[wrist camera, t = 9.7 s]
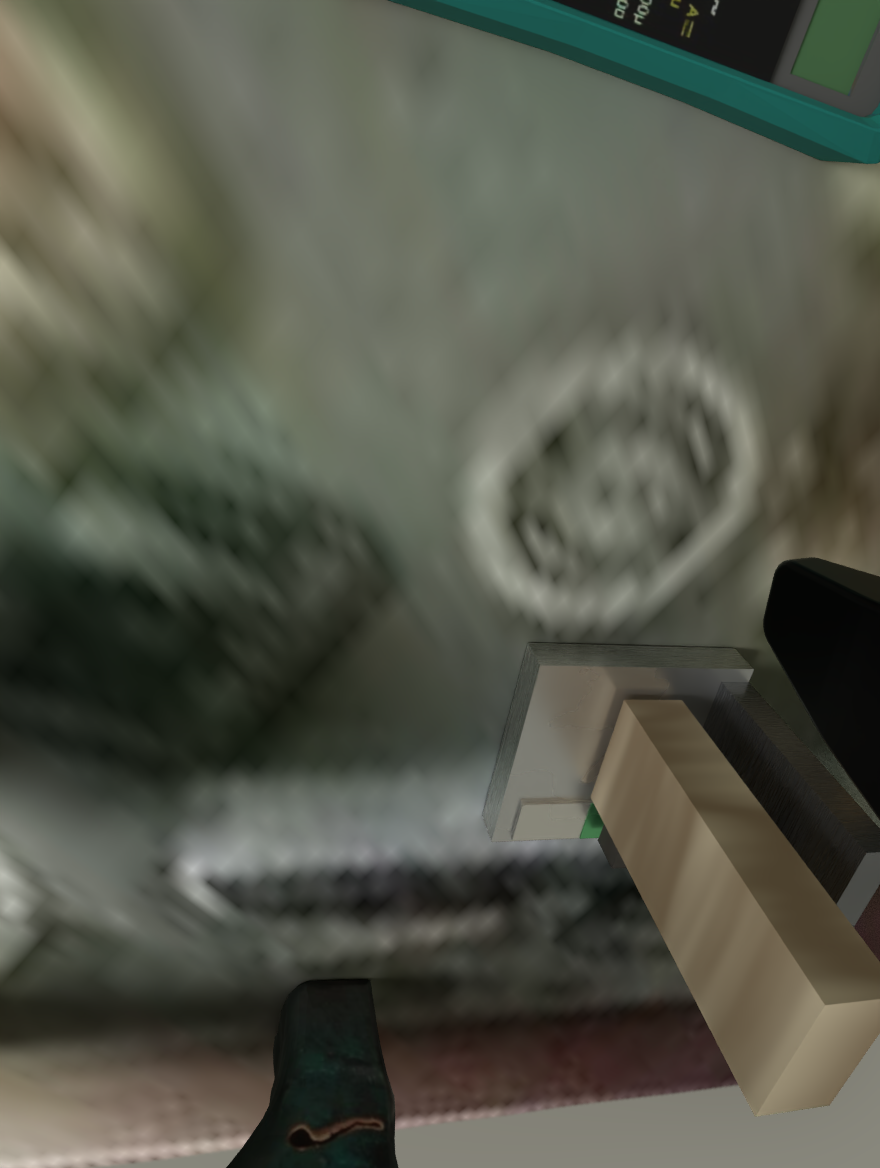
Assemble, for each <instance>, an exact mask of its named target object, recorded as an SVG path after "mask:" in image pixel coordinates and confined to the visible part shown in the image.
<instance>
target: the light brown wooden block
mask: <svg viewBox="0 0 880 1168" xmlns="http://www.w3.org/2000/svg"><path fill="white" fill-rule="evenodd" d="M591 799H592V801H593V803H594V805H595V807H596V809H597V811H598V813H599V815H600V817H601V819H602V821H603V823H604V825H603V828H602V831H601V833H600V836H599V839H598V842H599V844H600V846H601V848H602V850H603V852H604V854H605V856H606V858H607V860H608V862H609V864H610V866H611V868H627V869H628V871H629V873H630V875H631V877H632V879H633V881H634V883H635V885H636V887H637V889H638V890H639V892H640V894H641V896H642V898H643V900H644V902H645V904H646V906H647V908H648V910H649V912H650V914H651V916H652V918H653V920H654V922H655V923H656V925H657V927H658V929H659V931H660V933H661V935H662V937H663V939H664V941H665V943H666V945H667V947H668V949H669V951H670V953H671V955H672V956H673V958H674V960H675V962H676V964H677V966H678V968H679V970H680V972H681V974H682V976H683V978H684V980H685V982H686V984H687V986H688V988H689V989H690V991H691V993H692V995H693V997H694V999H695V1001H696V1003H697V1005H698V1007H699V1009H700V1011H701V1013H702V1015H703V1017H704V1019H705V1021H706V1022H707V1024H708V1026H709V1028H710V1030H711V1032H712V1034H713V1036H714V1038H715V1040H716V1042H717V1044H718V1046H719V1048H720V1050H721V1052H722V1054H723V1055H724V1057H725V1059H726V1061H727V1063H728V1065H729V1067H730V1069H731V1071H732V1073H733V1075H734V1077H735V1079H736V1081H737V1083H738V1085H739V1087H740V1088H741V1090H742V1092H743V1094H744V1096H745V1098H746V1100H747V1102H748V1104H749V1106H750V1108H751V1110H752V1112H753V1114H754V1116H755V1117H757V1116H763V1115H770V1114H777V1113H783V1112H790V1111H796V1110H803V1109H809V1108H816V1107H822V1106H828V1105H830V1104H831V1102H832V1101H833V1099H834V1098H835V1097H836V1095H837V1094H838V1092H839V1091H840V1089H841V1088H842V1087H843V1085H844V1084H845V1082H846V1081H847V1079H848V1078H849V1076H850V1075H851V1074H852V1072H853V1070H854V1069H855V1068H856V1066H857V1065H858V1064H859V1062H860V1061H861V1059H862V1058H863V1056H864V1055H865V1053H866V1052H867V1051H868V1049H869V1048H870V1046H871V1045H872V1043H873V1042H874V1041H875V1039H876V1038H877V1036H878V1035H879V1033H880V962H879V961H878V959H877V958H876V957H875V955H874V954H873V953H872V951H871V950H870V949H869V947H868V946H867V945H866V943H865V942H864V941H863V939H862V938H861V937H860V935H859V934H858V933H857V931H856V930H855V929H854V927H853V926H852V925H851V923H850V922H849V921H848V920H847V918H846V917H845V916H844V914H843V913H842V912H841V910H840V909H839V908H838V906H837V905H836V904H835V902H834V901H833V900H832V898H831V897H830V896H829V894H828V893H827V892H826V890H825V889H824V888H823V886H822V885H821V884H820V882H819V881H818V880H817V878H816V877H815V876H814V874H813V873H812V872H811V870H810V869H809V868H808V867H807V865H806V864H805V863H804V861H803V860H802V859H801V857H800V856H799V855H798V853H797V852H796V851H795V849H794V848H793V847H792V845H791V844H790V843H789V841H788V840H787V839H786V837H785V836H784V835H783V833H782V832H781V831H780V829H779V828H778V827H777V825H776V824H775V823H774V821H773V820H772V819H771V817H770V816H769V815H768V814H767V812H766V811H765V810H764V808H763V807H762V806H761V804H760V803H759V802H758V800H757V799H756V798H755V796H754V795H753V794H752V792H751V791H750V790H749V788H748V787H747V786H746V784H745V783H744V782H743V780H742V779H741V778H740V776H739V775H738V774H737V772H736V771H735V770H734V768H733V767H732V766H731V764H730V763H729V762H728V761H727V759H726V758H725V757H724V755H723V754H722V753H721V751H720V750H719V749H718V747H717V746H716V745H715V743H714V742H713V741H712V739H711V738H710V737H709V735H708V734H707V733H706V731H705V730H704V729H703V727H702V726H701V725H700V723H699V722H698V721H697V719H696V718H695V717H694V715H693V714H692V713H691V711H690V710H689V709H688V708H687V706H686V705H685V704H684V702H683V701H682V700H624V701H623V704H622V707H621V710H620V713H619V716H618V719H617V722H616V725H615V728H614V731H613V733H612V736H611V739H610V742H609V745H608V748H607V751H606V754H605V757H604V760H603V762H602V765H601V768H600V771H599V774H598V777H597V780H596V783H595V786H594V789H593V791H592V794H591Z"/></svg>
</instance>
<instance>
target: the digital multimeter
mask: <svg viewBox="0 0 880 1168" xmlns="http://www.w3.org/2000/svg"><path fill="white" fill-rule="evenodd" d="M389 1H392V2H395V3H399V4H402V5H405V6H408V7H411V8H414V9H417V10H421V11H424V12H427V13H430V14H433V15H436V16H439V17H443V18H446V19H449V20H452V21H455V22H458V23H461V24H464V25H468V26H471V27H474V28H477V29H480V30H483V31H486V32H489V33H493V34H496V35H499V36H502V37H505V38H508V39H511V40H515V41H518V42H521V43H524V44H527V45H530V46H533V47H536V48H540V49H543V50H546V51H549V52H552V53H554V54H557V55H560V56H562V57H565V58H568V59H570V60H573V61H576V62H578V63H581V64H584V65H586V66H589V67H592V68H594V69H597V70H600V71H602V72H605V73H608V74H610V75H613V76H616V77H618V78H621V79H624V80H626V81H629V82H632V83H634V84H637V85H640V86H642V87H645V88H648V89H650V90H653V91H656V92H658V93H661V94H664V95H666V96H669V97H672V98H674V99H677V100H680V101H682V102H685V103H687V104H689V105H692V106H694V107H696V108H699V109H701V110H703V111H706V112H708V113H711V114H713V115H715V116H718V117H720V118H722V119H725V120H727V121H729V122H732V123H734V124H736V125H739V126H741V127H743V128H746V129H748V130H750V131H753V132H755V133H758V134H760V135H762V136H765V137H767V138H769V139H772V140H774V141H776V142H779V143H781V144H783V145H786V146H788V147H790V148H793V149H795V150H798V151H800V152H802V153H805V154H807V155H809V156H812V157H814V158H816V159H819V160H824V161H837V162H851V163H864V164H877V163H879V162H880V0H554V1H553V0H389ZM669 44H670V45H669ZM698 55H699V56H698ZM719 63H720V64H719ZM727 66H728V67H727ZM735 69H736V70H735ZM740 71H741V72H740ZM748 74H749V75H748ZM756 77H757V78H756Z"/></svg>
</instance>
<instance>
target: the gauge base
mask: <svg viewBox="0 0 880 1168" xmlns="http://www.w3.org/2000/svg"><path fill="white" fill-rule="evenodd" d="M753 671H754V669H753V668H752V667H751V666H750V664H749V663H748V662H747V661H746V660H745V659H744V658H743V657H742V656H741V655H740V654H739V653H738V652H737V650H736V649H735V648H707V647H669V646H632V645H594V644H556V643H528V645H527V648H526V652H525V656H524V660H523V664H522V667H521V671H520V675H519V679H518V682H517V686H516V690H515V694H514V698H513V701H512V705H511V709H510V713H509V716H508V720H507V724H506V728H505V732H504V735H503V739H502V743H501V747H500V751H499V754H498V758H497V762H496V766H495V769H494V773H493V777H492V781H491V785H490V788H489V792H488V796H487V800H486V803H485V807H484V811H483V815H482V816H483V819H484V822H485V825H486V828H487V831H488V834H489V837H490V839H491V842H505V841H528V840H551V839H574V838H580V839H582V838H599V836H600V833H601V831H602V828H603V825H604V823H603V821H602V819H601V817H600V815H599V813H598V811H597V809H596V807H595V805H594V803H593V801H592V799H591V794H592V791H593V789H594V786H595V783H596V780H597V777H598V774H599V771H600V768H601V765H602V762H603V760H604V757H605V754H606V751H607V748H608V745H609V742H610V739H611V736H612V733H613V731H614V728H615V725H616V722H617V719H618V716H619V713H620V710H621V707H622V704H623V701H624V700H682V701H683V702H684V704H685V705H686V706H687V708H688V709H689V710H690V711H691V713H692V714H693V715H694V717H695V718H696V719H697V721H698V722H699V723H700V725H701V726H702V727H703V729H704V730H705V731H706V733H707V734H708V735H709V737H710V738H711V739H712V741H713V742H714V743H715V745H716V746H717V747H718V749H719V750H720V751H721V753H722V754H723V755H724V757H725V758H726V759H727V761H728V762H729V763H730V764H731V766H732V767H733V768H734V770H735V771H736V772H737V774H738V775H739V776H740V778H741V779H742V780H743V782H744V783H745V784H746V786H747V787H748V788H749V790H750V791H751V792H752V794H753V795H754V796H755V798H756V799H757V800H758V802H759V803H760V804H761V806H762V807H763V808H764V810H765V811H766V812H767V814H768V815H769V816H770V817H771V819H772V820H773V821H774V823H775V824H776V825H777V827H778V828H779V829H780V831H781V832H782V833H783V835H784V836H785V837H786V839H787V840H788V841H789V843H790V844H791V845H792V847H793V848H794V849H795V851H796V852H797V853H798V855H799V856H800V857H801V859H802V860H803V861H804V863H805V864H806V865H807V867H808V868H809V869H810V870H811V872H812V873H813V874H814V876H815V877H816V878H817V880H818V881H819V882H820V884H821V885H822V886H823V888H824V889H825V890H826V892H827V893H828V894H829V896H830V897H831V898H832V900H833V901H834V902H835V904H836V905H837V906H838V908H839V909H840V910H841V912H842V913H843V914H844V916H845V917H846V918H847V920H848V921H849V922H850V923H851V925H852V926H853V927H854V925H855V924H856V922H857V920H858V919H859V917H860V916H861V914H862V912H863V911H864V909H865V907H866V906H867V904H868V902H869V901H870V899H871V897H872V896H873V894H874V893H875V891H876V889H877V888H878V886H879V884H880V828H879V827H878V826H877V825H876V824H875V823H874V822H873V821H872V820H871V818H870V817H869V816H868V815H867V814H866V813H865V812H864V811H863V809H862V808H861V807H860V806H859V805H858V804H857V803H856V802H855V801H854V799H853V798H852V797H851V796H850V795H849V794H848V793H847V792H846V790H845V789H844V788H843V787H842V786H841V785H840V784H839V783H838V782H837V780H836V779H835V778H834V777H833V776H832V775H831V774H830V773H829V772H828V770H827V769H826V768H825V767H824V766H823V765H822V764H821V763H820V761H819V760H818V759H817V758H816V757H815V756H814V755H813V754H812V753H811V751H810V750H809V749H808V748H807V747H806V746H805V745H804V744H803V742H802V741H801V740H800V739H799V738H798V737H797V736H796V735H795V734H794V732H793V731H792V730H791V729H790V728H789V727H788V726H787V725H786V723H785V722H784V721H783V720H782V719H781V718H780V717H779V716H778V715H777V713H776V712H775V711H774V710H773V709H772V708H771V707H770V706H769V704H768V703H767V702H766V701H765V700H764V699H763V698H762V697H761V696H760V694H759V693H758V692H757V691H756V690H755V689H754V688H753V687H752V685H751V684H750V683H749V680H750V678H751V675H752V673H753Z"/></svg>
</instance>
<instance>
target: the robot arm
mask: <svg viewBox="0 0 880 1168" xmlns="http://www.w3.org/2000/svg"><path fill="white" fill-rule="evenodd" d="M763 627H764V633H765V636H766V639H767V641H768V643H769V645H770V646H771V648H772V650H773V652H774V654H775V655H776V657H777V659H778V661H779V662H780V664H781V666H782V668H783V670H784V671H785V673H786V675H787V677H788V679H789V680H790V682H791V684H792V686H793V687H794V689H795V691H796V693H797V695H798V696H799V698H800V700H801V702H802V704H803V705H804V707H805V709H806V711H807V713H808V714H809V716H810V718H811V720H812V721H813V723H814V725H815V726H816V728H817V730H818V732H819V733H820V735H821V737H822V738H823V740H824V741H825V743H826V744H827V746H828V747H829V749H830V750H831V752H832V753H833V755H834V756H835V758H836V759H837V760H838V762H839V763H840V765H841V766H842V767H843V769H844V770H845V772H846V773H847V775H848V776H849V777H850V779H851V780H852V782H853V783H854V785H855V786H856V787H857V789H858V790H859V792H860V793H861V794H862V796H863V797H864V799H865V800H866V802H867V803H868V804H869V806H870V807H871V809H872V810H873V811H874V813H875V814H876V816H877V817H878V819H879V820H880V577H879V576H876V575H872V574H869V573H866V572H862V571H859V570H856V569H852V568H849V567H846V566H842V565H839V564H836V563H832V562H829V561H826V560H822V559H819V558H801V559H793V560H786V561H784V562H782V563H781V564H780V565H779V566H778V567H777V569H776V571H775V573H774V577H773V581H772V585H771V590H770V594H769V598H768V602H767V606H766V610H765V614H764V620H763Z"/></svg>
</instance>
